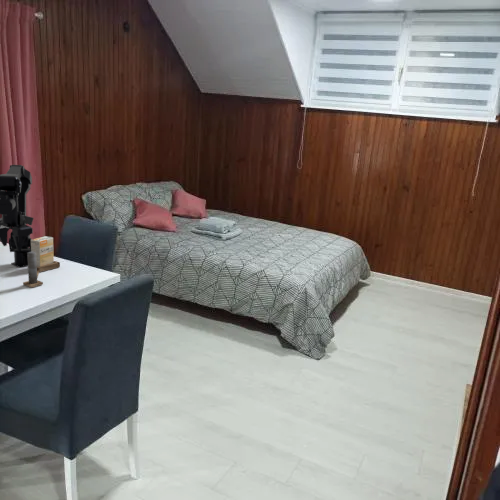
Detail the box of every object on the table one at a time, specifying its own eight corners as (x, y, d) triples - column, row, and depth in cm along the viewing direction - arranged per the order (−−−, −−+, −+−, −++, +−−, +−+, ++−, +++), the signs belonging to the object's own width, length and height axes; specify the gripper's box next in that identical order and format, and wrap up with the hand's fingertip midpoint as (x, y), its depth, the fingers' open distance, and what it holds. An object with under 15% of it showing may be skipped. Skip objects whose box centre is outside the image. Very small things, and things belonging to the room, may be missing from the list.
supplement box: (40, 271, 197) (39, 241, 194) (31, 269, 199) (30, 239, 195) (54, 266, 205) (53, 237, 201) (45, 264, 206) (44, 235, 203)
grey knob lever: (6, 277, 187) (4, 246, 183) (55, 265, 205) (54, 236, 202) (31, 287, 179) (29, 255, 176) (79, 273, 198) (78, 244, 194)
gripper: (44, 210, 180) (46, 249, 185) (14, 202, 189) (16, 239, 194) (17, 214, 171) (19, 255, 175) (-13, 205, 180) (-10, 244, 184)
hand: (12, 248), depth 183 cm, fingers open, 9 cm apart
